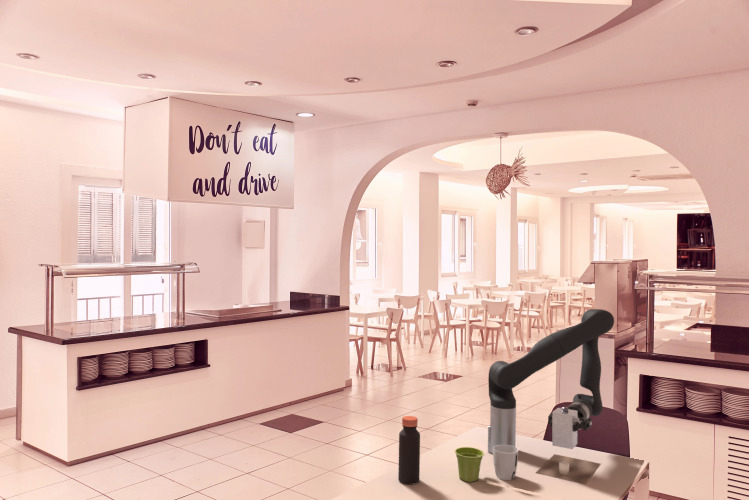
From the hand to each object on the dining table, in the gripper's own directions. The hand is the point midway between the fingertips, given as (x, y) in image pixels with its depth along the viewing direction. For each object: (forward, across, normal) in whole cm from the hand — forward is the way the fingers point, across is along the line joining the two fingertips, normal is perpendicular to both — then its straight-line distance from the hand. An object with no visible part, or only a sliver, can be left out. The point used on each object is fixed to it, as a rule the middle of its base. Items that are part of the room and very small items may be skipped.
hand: (563, 426), depth 186 cm
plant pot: (+18, -25, +17) cm, 35 cm away
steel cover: (-2, 0, +6) cm, 7 cm away
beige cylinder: (-2, 0, +16) cm, 16 cm away
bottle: (+31, -40, +17) cm, 53 cm away
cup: (+12, -15, +17) cm, 26 cm away
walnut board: (-8, 0, +17) cm, 19 cm away
